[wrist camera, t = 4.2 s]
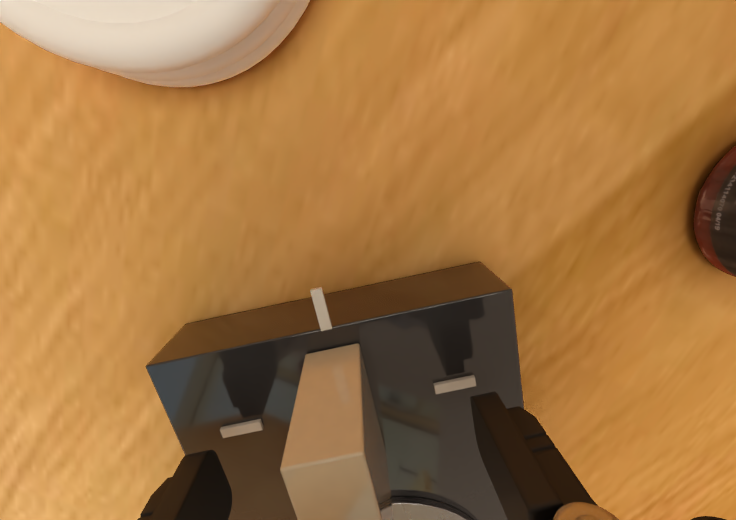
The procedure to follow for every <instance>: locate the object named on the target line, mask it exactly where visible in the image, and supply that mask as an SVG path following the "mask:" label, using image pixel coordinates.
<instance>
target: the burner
mask: <svg viewBox="0 0 736 520" xmlns="http://www.w3.org/2000/svg"><path fill="white" fill-rule="evenodd" d="M391 499H392V508H393V516H394V520H473V519H472V518H470V517H469V516H468V515H466V514H465V513H463V512H462V511H460V510H458V509H456V508H454V507H452V506H449V505H447V504H445V503H442V502H438V501H434V500H431V499H425V498H419V497H406V496H398V497H391Z"/></svg>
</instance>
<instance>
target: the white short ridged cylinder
mask: <svg viewBox="0 0 736 520" xmlns="http://www.w3.org/2000/svg"><path fill="white" fill-rule="evenodd" d="M309 2H310V0H0V22H1V23H2V24H4V25H5V26H6V27H8V28H9V29H11V30H12V31H13V32H15V33H16V34H18V35H19V36H21V37H23V38H25V39H27V40H28V41H30V42H32V43H34V44H35V45H37V46H39V47H41V48H43V49H44V50H46V51H49V52H51V53H54V54H56V55H59V56H61V57H63V58H66V59H68V60H71V61H73V62H76V63H80V64H84V65H87V66H91V67H94V68H97V69H99V70H102V71H105V72H109V73H112V74H116V75H120V76H122V77H124V78H127V79H131V80H135V81H138V82H142V83H146V84H150V85H158V86H165V87H195V86H201V85H208V84H213V83H216V82H219V81H222V80H225V79H229V78H231V77H233V76H236V75H238V74H240V73H242V72H244V71H246V70H248V69H250V68H251V67H252V66H254V65H255V64H257V63H258V62H260V61H261V60H263V59H264V58H266V57H267V56H268V55H269V54H270V53H271V52H272V51H273V50H274V49H275V48H276V47H278V46H279V45H280V44H281V42H282V41H283V40H284V39H285V38H286V36H287V35H288V34H289V33H290V32H291V30H292V29H293V28H294V27H295V25H296V23H297V22H298V20H299V19H300V17H301V16H302V14H303V13H304V11H305V10H306V8H307V6H308V4H309Z"/></svg>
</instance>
